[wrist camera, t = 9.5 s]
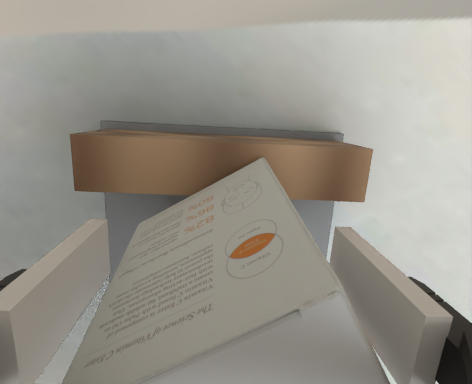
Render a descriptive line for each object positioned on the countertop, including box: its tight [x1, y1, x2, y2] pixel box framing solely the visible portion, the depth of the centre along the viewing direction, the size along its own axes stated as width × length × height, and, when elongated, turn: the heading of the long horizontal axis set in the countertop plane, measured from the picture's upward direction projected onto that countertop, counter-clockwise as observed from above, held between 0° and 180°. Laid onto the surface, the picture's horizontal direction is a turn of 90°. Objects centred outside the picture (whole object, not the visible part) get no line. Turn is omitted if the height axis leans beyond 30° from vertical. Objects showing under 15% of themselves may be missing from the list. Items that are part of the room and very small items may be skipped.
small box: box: [62, 157, 390, 384], centre depth 12 cm, size 8×6×10 cm
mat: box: [100, 121, 344, 282], centre depth 23 cm, size 17×16×1 cm
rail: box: [70, 129, 373, 202], centre depth 19 cm, size 16×3×6 cm, turn 87°
